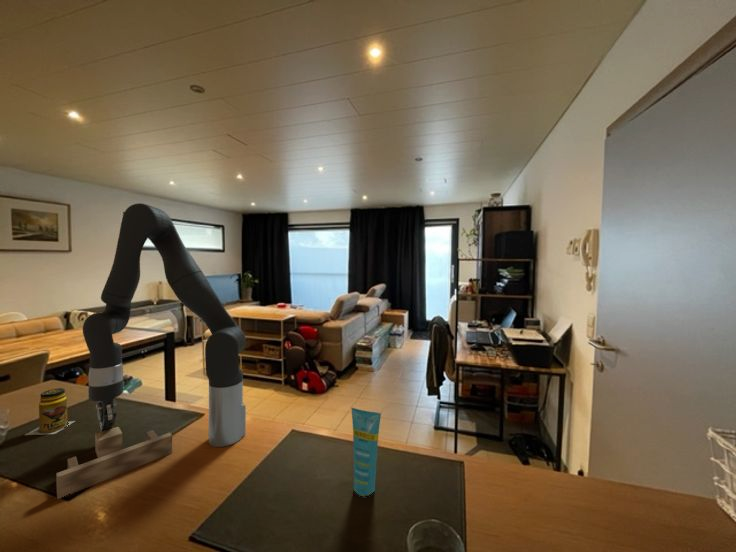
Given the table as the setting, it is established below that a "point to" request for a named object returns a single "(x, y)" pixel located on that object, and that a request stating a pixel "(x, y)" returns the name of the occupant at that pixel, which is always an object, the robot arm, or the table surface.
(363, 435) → the tube
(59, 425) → the condiment
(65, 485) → the wooden plank
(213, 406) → the robot arm
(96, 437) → the block
